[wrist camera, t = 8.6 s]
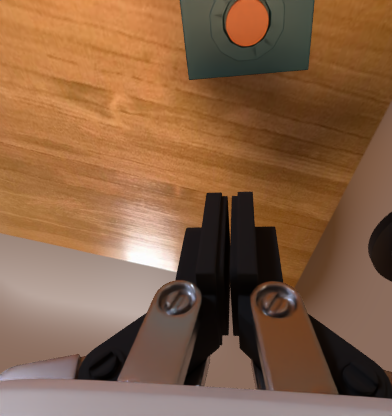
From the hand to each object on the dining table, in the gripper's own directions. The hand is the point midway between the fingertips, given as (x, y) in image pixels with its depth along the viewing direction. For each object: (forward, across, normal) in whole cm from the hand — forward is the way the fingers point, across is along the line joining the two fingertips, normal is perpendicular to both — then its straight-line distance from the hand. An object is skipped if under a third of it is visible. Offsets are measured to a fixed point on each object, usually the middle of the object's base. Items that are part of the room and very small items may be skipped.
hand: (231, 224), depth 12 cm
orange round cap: (+24, -1, -4) cm, 24 cm away
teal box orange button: (+28, -1, -4) cm, 29 cm away
